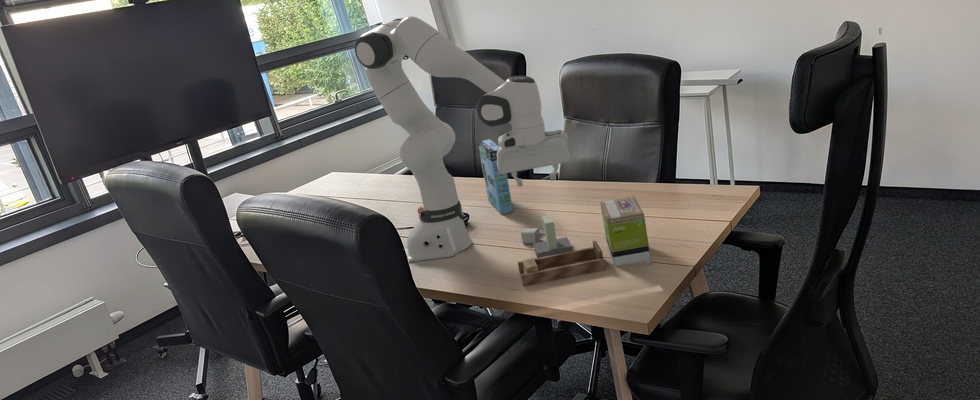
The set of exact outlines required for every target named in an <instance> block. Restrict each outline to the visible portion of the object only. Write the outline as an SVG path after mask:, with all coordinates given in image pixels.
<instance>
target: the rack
mask: <svg viewBox="0 0 980 400" xmlns="http://www.w3.org/2000/svg"><path fill="white" fill-rule="evenodd" d="M533 259H534V261H535V262H536V264H537V266H538V271H535V272H530V273H524V268H523V261H522V260H521V261H517V266H518V267H517V268H518V273H519V275H520V279H521V283H522V286H523V287H528V286H533V285H537V284H542V283H547V282H553V281H557V280H561V279H567V278H572V277H577V276H582V275H587V274H592V273H598V272H602V271H603V272H604V271H606V263H605V259H604V255H603V250H602V248H601V246H600V245H599V244H598V242H597V241H596V240H594V241H593V240H592V247H586V248H581V249H575V250H572V251H570V252H565V253H560V254H555V255H550V256H545V257H540V258H537V257H536V258H533Z"/></svg>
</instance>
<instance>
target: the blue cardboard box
mask: <svg viewBox="0 0 980 400" xmlns="http://www.w3.org/2000/svg"><path fill="white" fill-rule="evenodd" d="M477 147H478V150H479V157H480V162H481V163H480V164H481V168H482V173H483V180H484V184H485V190H486V195H487V200H488V202H489V203H490V204H491V205H492V206H493V208H494V209H496V211H497V212H498V213H499V214H500V215H501V214H502V215H505V213H506V214H509V212H510V213H512V212H513V213H514V207H513V203H512V197H511V196H512V195H511V190H510V184H509V178H508V173H505V174H501V173H500V172H499V171H498V167H497V149H498V147H499V144H497V143H495V142H494V141H493V140H491V139H489V138H488V139H484V140H480V141H477Z"/></svg>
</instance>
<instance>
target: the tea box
mask: <svg viewBox="0 0 980 400" xmlns="http://www.w3.org/2000/svg"><path fill="white" fill-rule="evenodd" d="M600 208H601V217H602V222H603V227H604V228H603V229H604V233H605V234H604V235H605V239H606V244H607V245H606V246H607V250H608V252H609V256H610V258H611V261H612V264H613V266H614V267H619V266H625V265H631V264H637V263H643V265H648V264H651V263H652V259H651V253H650V245H649V240H648V239H649V238H648V233H647V232H648V231H647V225H646V218H645V214H644V211H643V210H642V208H641V206H640V204H639V203H638V200H637V198H636V197H635V195H634V196H627V197H621V198H617V199H611V200H606V201H605V200H604V201H600Z"/></svg>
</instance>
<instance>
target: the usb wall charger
mask: <svg viewBox="0 0 980 400" xmlns="http://www.w3.org/2000/svg"><path fill="white" fill-rule="evenodd" d="M520 235H521V240H522V244H524V245H534V244H535V243H540V241H541V240H542V239H545V232H544V233H540V228H539V227H538V228H537V227H533V228H529V227H528V228H527V227H526V228H524V229H523V230H522V231H521V234H520Z"/></svg>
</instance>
